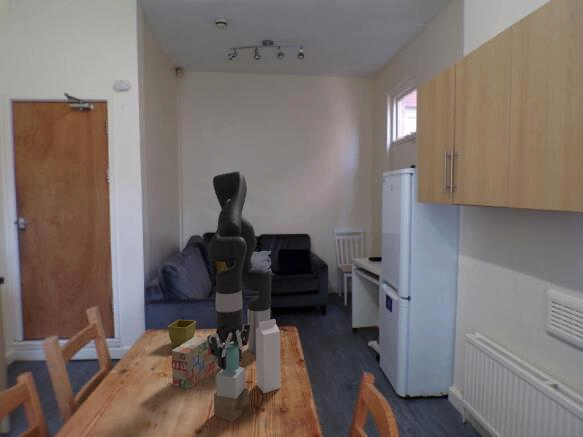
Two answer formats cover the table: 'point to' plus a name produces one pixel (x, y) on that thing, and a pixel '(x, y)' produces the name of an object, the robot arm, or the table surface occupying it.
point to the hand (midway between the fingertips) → (230, 364)
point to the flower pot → (181, 331)
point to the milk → (268, 356)
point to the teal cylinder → (232, 357)
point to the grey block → (230, 383)
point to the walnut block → (231, 406)
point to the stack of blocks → (192, 362)
